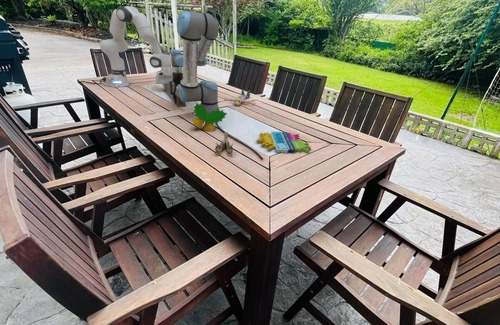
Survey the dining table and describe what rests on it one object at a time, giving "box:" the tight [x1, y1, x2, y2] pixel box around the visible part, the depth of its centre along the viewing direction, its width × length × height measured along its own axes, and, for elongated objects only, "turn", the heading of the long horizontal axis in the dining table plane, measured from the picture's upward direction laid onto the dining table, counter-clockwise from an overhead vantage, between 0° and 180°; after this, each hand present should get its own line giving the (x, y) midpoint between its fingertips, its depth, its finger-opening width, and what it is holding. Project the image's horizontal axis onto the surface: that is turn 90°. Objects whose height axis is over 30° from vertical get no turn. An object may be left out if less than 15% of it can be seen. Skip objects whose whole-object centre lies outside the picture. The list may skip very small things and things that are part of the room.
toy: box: [223, 89, 257, 106], centre depth 219 cm, size 28×7×30 cm
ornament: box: [191, 101, 228, 132], centre depth 162 cm, size 21×8×15 cm, turn 105°
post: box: [163, 83, 187, 108], centre depth 217 cm, size 53×6×8 cm, turn 27°
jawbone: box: [214, 131, 234, 156], centre depth 136 cm, size 9×15×10 cm
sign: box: [256, 131, 312, 154], centre depth 152 cm, size 26×2×30 cm
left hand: (168, 88), depth 232 cm, fingers closed on post, 5 cm apart
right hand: (179, 103), depth 205 cm, fingers closed on post, 6 cm apart
